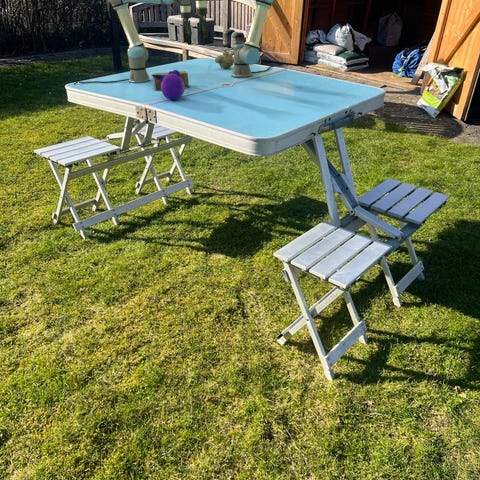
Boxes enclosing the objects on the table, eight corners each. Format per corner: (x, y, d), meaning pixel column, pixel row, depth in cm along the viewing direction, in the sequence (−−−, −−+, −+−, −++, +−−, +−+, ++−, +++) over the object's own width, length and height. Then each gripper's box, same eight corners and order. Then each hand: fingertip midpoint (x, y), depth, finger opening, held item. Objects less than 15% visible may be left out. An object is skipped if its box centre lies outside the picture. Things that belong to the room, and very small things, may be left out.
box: (155, 90, 310) (154, 75, 305) (154, 88, 317) (152, 73, 312) (188, 87, 316) (187, 73, 311) (186, 85, 323) (185, 71, 318)
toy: (175, 91, 304) (184, 105, 283) (149, 87, 296) (157, 101, 276) (179, 67, 296) (189, 80, 275) (153, 62, 288) (161, 75, 268)
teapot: (218, 70, 370) (218, 51, 363) (212, 68, 379) (211, 49, 371) (241, 68, 380) (240, 48, 372) (234, 66, 388) (233, 47, 381)
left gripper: (195, 13, 319) (196, 45, 330) (186, 11, 340) (188, 41, 350) (184, 13, 317) (186, 45, 328) (177, 11, 338) (179, 41, 348)
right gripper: (210, 8, 292) (212, 43, 303) (204, 6, 313) (206, 39, 324) (199, 9, 291) (201, 44, 301) (193, 7, 312) (196, 40, 322)
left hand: (187, 43), depth 339 cm, fingers open, 13 cm apart
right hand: (204, 42), depth 313 cm, fingers open, 13 cm apart
